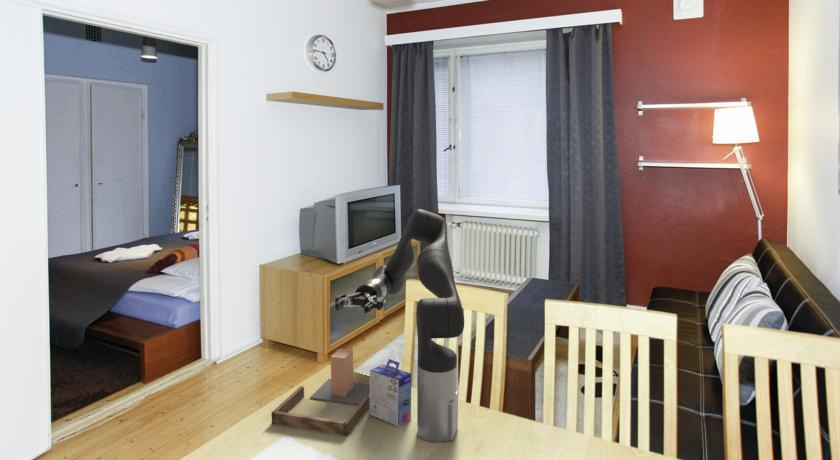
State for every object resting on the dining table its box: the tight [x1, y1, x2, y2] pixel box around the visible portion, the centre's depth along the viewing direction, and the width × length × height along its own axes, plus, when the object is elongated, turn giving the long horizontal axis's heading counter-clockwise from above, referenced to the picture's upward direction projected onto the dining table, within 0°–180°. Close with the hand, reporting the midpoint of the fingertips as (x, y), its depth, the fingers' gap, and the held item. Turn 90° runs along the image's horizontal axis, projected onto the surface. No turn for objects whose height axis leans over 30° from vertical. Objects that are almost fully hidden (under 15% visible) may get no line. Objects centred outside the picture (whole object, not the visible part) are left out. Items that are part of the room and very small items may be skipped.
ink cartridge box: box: [369, 358, 412, 427], centre depth 140 cm, size 10×6×14 cm, turn 53°
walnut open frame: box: [270, 385, 370, 437], centre depth 141 cm, size 20×15×3 cm
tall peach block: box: [330, 348, 354, 397], centre depth 153 cm, size 4×6×11 cm, turn 165°
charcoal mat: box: [309, 378, 370, 407], centre depth 154 cm, size 14×12×1 cm
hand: (351, 308), depth 157 cm, fingers open, 8 cm apart
